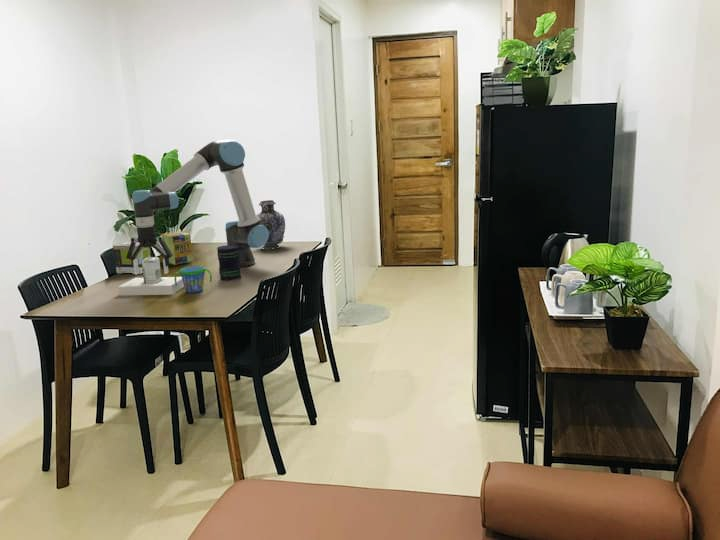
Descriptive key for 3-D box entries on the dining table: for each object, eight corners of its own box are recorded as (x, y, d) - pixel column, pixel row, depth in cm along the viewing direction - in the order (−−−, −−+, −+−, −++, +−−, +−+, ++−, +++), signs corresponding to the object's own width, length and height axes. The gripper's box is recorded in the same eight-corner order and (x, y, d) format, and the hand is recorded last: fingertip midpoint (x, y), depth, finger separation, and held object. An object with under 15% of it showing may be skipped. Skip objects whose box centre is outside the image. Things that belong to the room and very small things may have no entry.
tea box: (153, 270, 307) (149, 242, 304) (140, 274, 298) (136, 245, 295) (129, 269, 312) (125, 241, 309) (116, 273, 303) (112, 245, 300)
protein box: (175, 265, 317) (172, 236, 314) (163, 261, 329) (160, 233, 325) (193, 261, 324) (190, 233, 320) (181, 258, 335) (178, 231, 332)
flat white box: (186, 285, 272) (185, 276, 271) (172, 294, 257) (171, 285, 256) (136, 286, 275) (134, 277, 274) (119, 295, 259) (118, 286, 258)
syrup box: (150, 288, 269) (146, 257, 266) (163, 288, 268) (159, 256, 265) (145, 292, 263) (140, 259, 260) (158, 291, 263) (154, 259, 260)
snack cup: (213, 286, 268) (210, 264, 265) (212, 292, 258) (210, 269, 255) (176, 290, 264) (174, 267, 262) (175, 296, 254) (172, 272, 252)
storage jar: (233, 274, 289) (230, 244, 286) (245, 277, 282) (242, 246, 279) (215, 278, 282) (212, 247, 279) (227, 281, 275) (224, 249, 272)
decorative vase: (284, 250, 342) (280, 202, 336) (252, 252, 342) (247, 204, 336) (289, 244, 363) (285, 198, 357) (259, 245, 363) (254, 200, 357)
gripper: (113, 228, 257) (120, 276, 262) (169, 226, 254) (175, 274, 259) (122, 225, 264) (128, 272, 269) (176, 223, 262) (182, 270, 267)
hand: (151, 273), depth 264 cm, fingers open, 13 cm apart
